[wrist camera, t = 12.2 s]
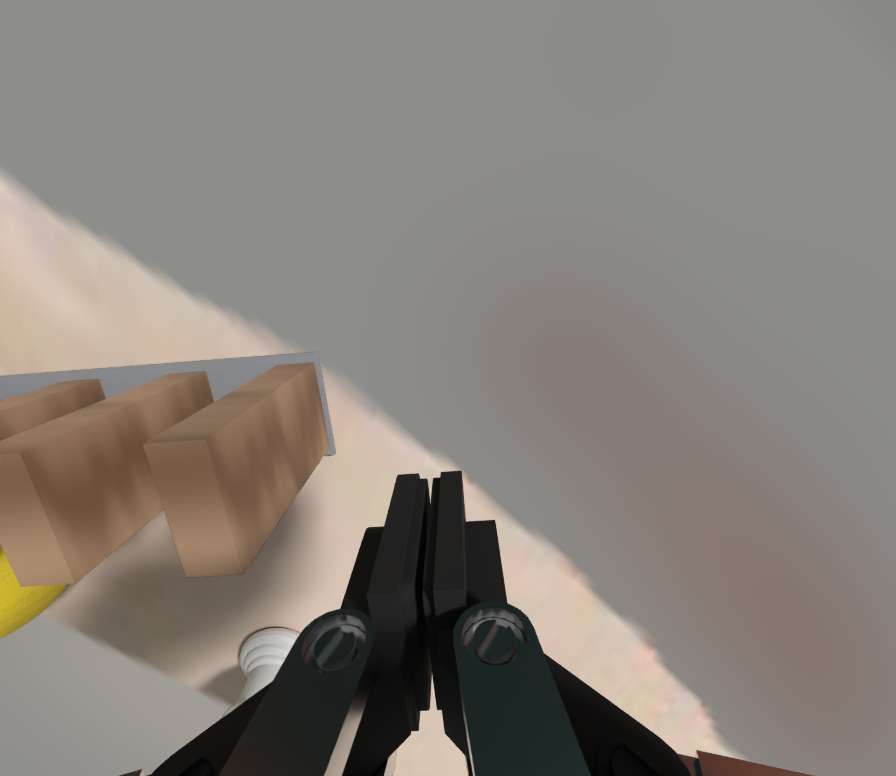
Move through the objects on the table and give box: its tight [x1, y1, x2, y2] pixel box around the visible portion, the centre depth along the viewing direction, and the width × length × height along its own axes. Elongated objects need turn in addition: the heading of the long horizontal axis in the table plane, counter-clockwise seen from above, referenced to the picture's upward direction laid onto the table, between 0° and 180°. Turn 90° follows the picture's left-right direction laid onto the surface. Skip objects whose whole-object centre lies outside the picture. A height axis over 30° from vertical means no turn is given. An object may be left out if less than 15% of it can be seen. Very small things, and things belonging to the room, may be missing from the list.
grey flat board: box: [0, 352, 336, 456], centre depth 24 cm, size 6×28×1 cm, turn 95°
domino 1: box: [0, 379, 106, 441], centre depth 19 cm, size 5×2×10 cm, turn 5°
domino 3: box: [143, 362, 329, 577], centre depth 18 cm, size 5×2×10 cm, turn 5°
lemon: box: [0, 545, 68, 638], centre depth 22 cm, size 6×6×8 cm
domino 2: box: [0, 371, 214, 587], centre depth 18 cm, size 5×2×10 cm, turn 5°
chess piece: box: [222, 628, 300, 718], centre depth 24 cm, size 5×5×9 cm
